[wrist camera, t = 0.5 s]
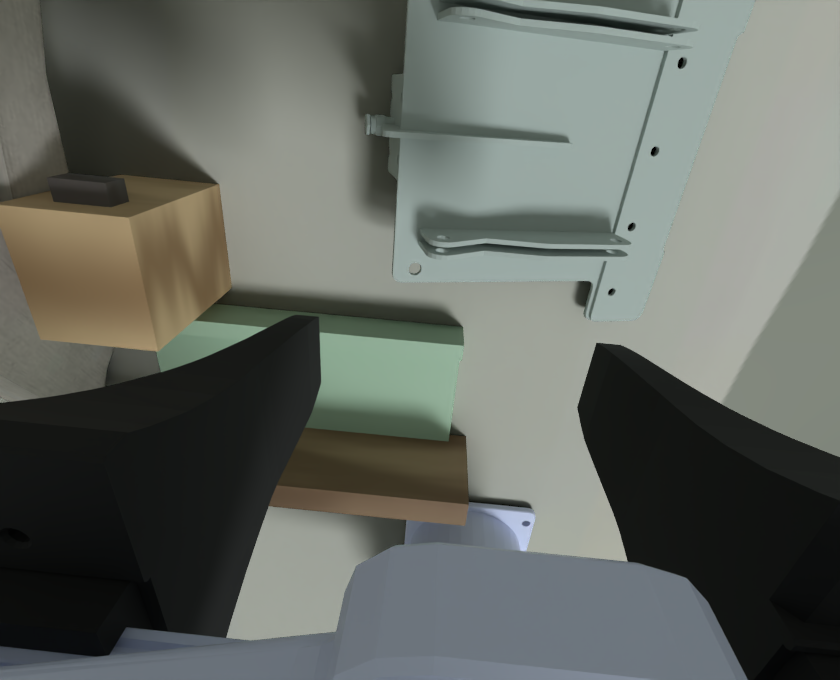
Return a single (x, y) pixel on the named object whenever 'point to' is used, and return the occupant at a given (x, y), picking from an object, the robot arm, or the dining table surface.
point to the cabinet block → (118, 257)
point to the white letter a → (23, 176)
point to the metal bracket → (550, 138)
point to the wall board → (377, 476)
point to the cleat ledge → (351, 367)
